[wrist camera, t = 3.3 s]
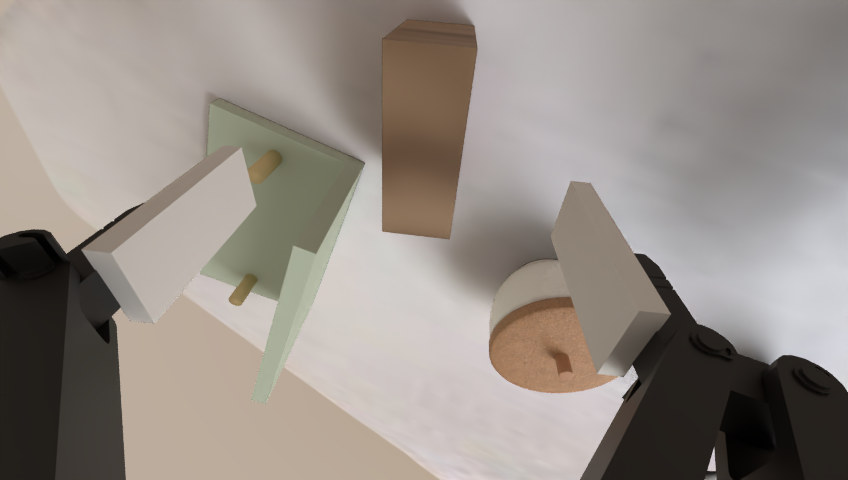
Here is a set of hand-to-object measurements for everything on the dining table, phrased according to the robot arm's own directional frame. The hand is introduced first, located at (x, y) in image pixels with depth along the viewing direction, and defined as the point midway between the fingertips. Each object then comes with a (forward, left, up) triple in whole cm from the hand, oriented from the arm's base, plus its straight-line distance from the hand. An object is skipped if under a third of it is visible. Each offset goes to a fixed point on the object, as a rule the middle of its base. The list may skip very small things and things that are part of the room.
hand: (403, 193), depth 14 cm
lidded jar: (+10, +16, -12) cm, 23 cm away
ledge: (+15, -8, -12) cm, 21 cm away
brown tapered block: (0, 0, -12) cm, 12 cm away
